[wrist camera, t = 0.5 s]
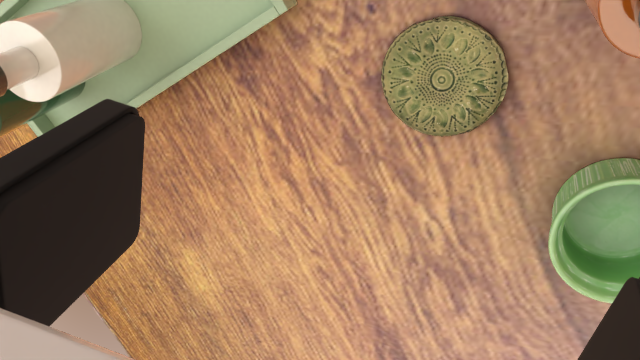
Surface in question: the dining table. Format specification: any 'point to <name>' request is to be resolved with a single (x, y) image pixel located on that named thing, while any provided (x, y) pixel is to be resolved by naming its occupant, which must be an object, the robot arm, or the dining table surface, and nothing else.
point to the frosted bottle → (65, 46)
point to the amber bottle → (619, 23)
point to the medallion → (444, 76)
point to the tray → (159, 47)
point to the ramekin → (598, 228)
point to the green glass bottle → (29, 108)
